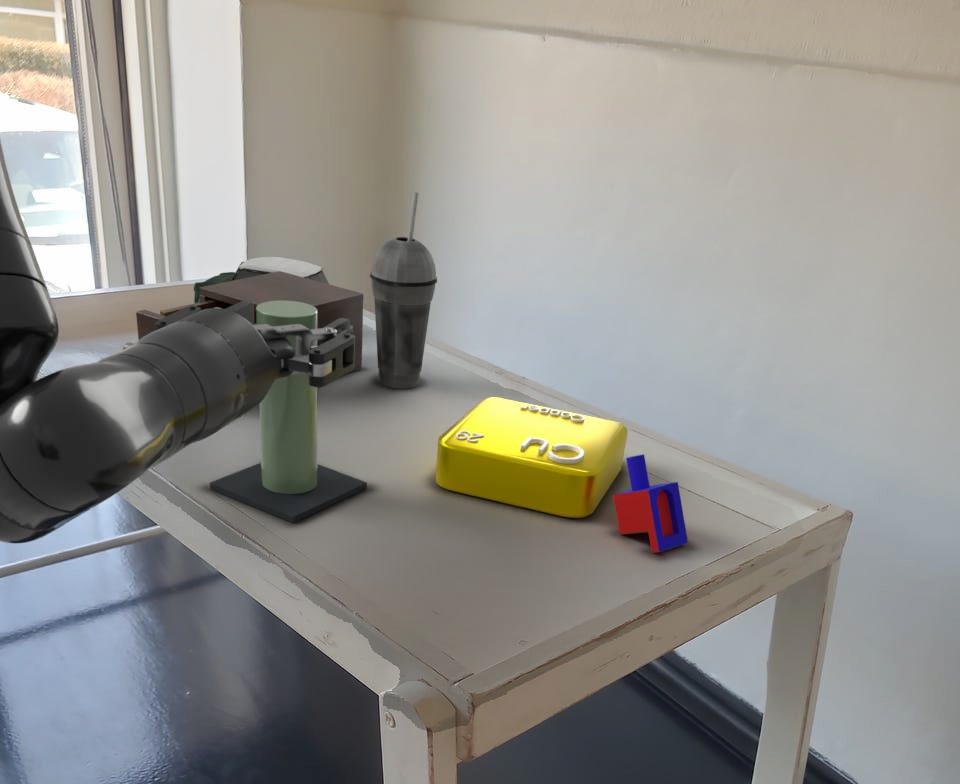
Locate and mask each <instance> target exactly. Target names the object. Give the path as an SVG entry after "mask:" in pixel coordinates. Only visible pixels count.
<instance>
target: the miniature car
mask: <svg viewBox="0 0 960 784" xmlns="http://www.w3.org/2000/svg"><path fill="white" fill-rule="evenodd" d="M278 271H282V272H285V273H289V274H293V275H296V276H300V277H304V278H307V279H311V280H315V281H318V282H322V283H326V284H329V285H330V283H329V280H328V279H327V276H326V274H325V273H324V270H323V267H321V266H319V265H316V264H313V263H311V262H307V261H303V260H298V259H294V258H293V259H292V258H288V257H287V258H286V257H282V256H262V257H253V258H250V259H247V260H243V261H241V262H240V264H239V265H238V267H237V269H236V271H228V272H227V271H225V272H221V273H219V274H217V275H213V276H212V277H210V278H208V279H206V280H204V281H197V282H194V286H193V292H194V299H193V303H199V302H200V292H199V287H204V286H209V285H214V284H219V283H224V282H229V281H234V280H238V279H243V278H248V277H253V276H258V275H263V274H268V273H273V272H278Z"/></svg>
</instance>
